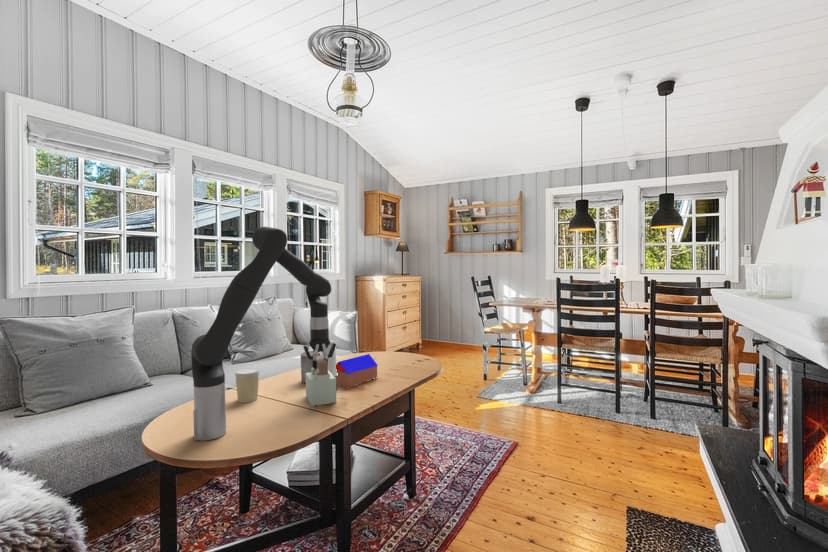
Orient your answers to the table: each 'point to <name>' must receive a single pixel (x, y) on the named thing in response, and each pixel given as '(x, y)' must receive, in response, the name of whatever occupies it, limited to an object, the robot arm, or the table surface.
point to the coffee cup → (247, 384)
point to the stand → (320, 388)
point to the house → (355, 370)
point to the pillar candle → (306, 365)
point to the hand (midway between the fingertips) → (320, 368)
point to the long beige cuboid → (321, 365)
